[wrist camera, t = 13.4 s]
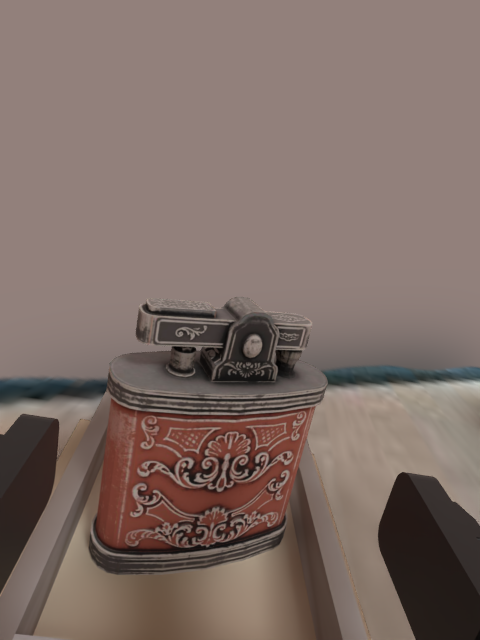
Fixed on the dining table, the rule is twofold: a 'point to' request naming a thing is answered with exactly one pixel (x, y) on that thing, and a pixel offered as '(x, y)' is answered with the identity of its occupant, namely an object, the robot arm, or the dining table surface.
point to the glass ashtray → (178, 588)
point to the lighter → (203, 437)
